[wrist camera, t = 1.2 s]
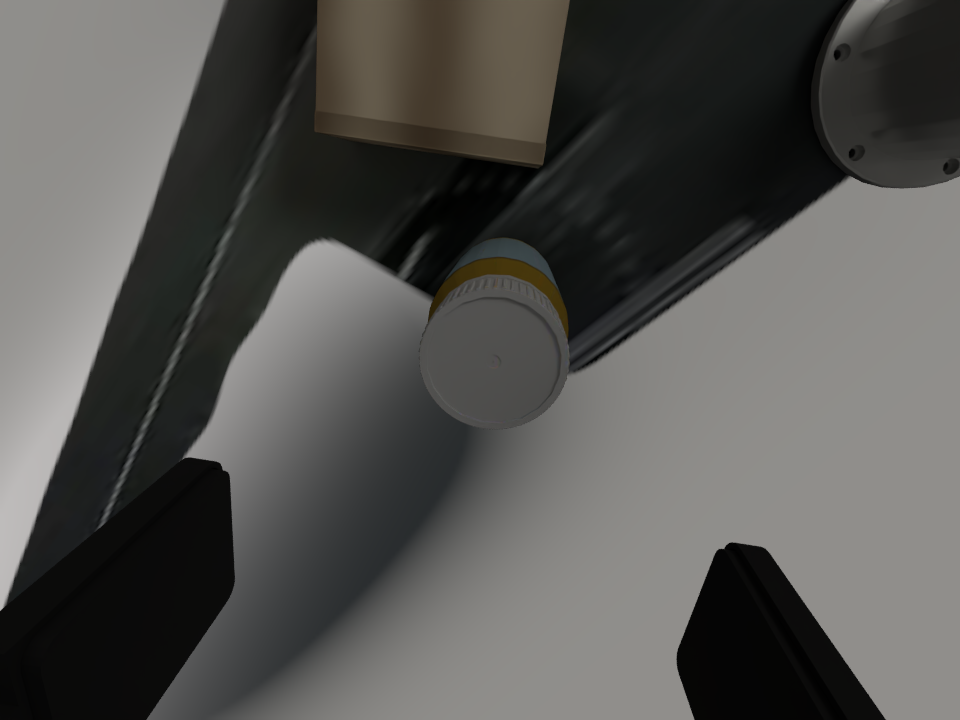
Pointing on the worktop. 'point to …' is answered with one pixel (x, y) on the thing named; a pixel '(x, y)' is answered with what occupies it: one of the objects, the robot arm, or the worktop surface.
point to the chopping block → (440, 75)
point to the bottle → (496, 337)
